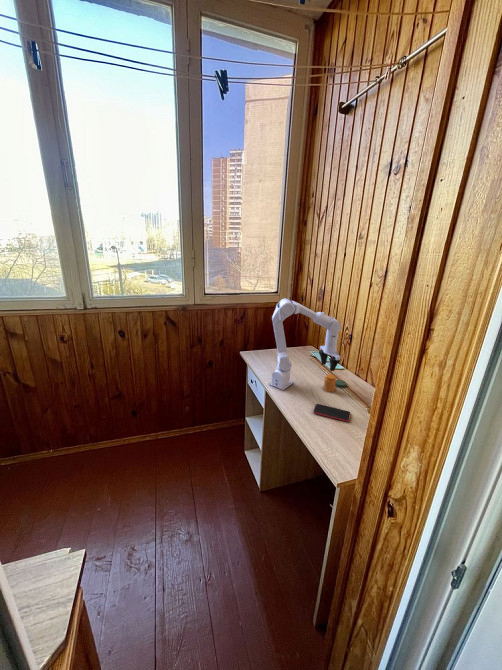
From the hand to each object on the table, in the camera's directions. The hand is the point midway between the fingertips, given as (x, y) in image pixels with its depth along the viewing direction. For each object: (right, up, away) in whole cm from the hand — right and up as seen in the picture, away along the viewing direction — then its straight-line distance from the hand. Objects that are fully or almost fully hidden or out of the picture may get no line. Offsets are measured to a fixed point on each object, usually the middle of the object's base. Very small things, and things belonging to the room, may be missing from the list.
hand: (327, 367), depth 150 cm
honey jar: (0, -11, -2) cm, 11 cm away
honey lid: (+7, -9, +2) cm, 12 cm away
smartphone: (-4, -18, -22) cm, 29 cm away
